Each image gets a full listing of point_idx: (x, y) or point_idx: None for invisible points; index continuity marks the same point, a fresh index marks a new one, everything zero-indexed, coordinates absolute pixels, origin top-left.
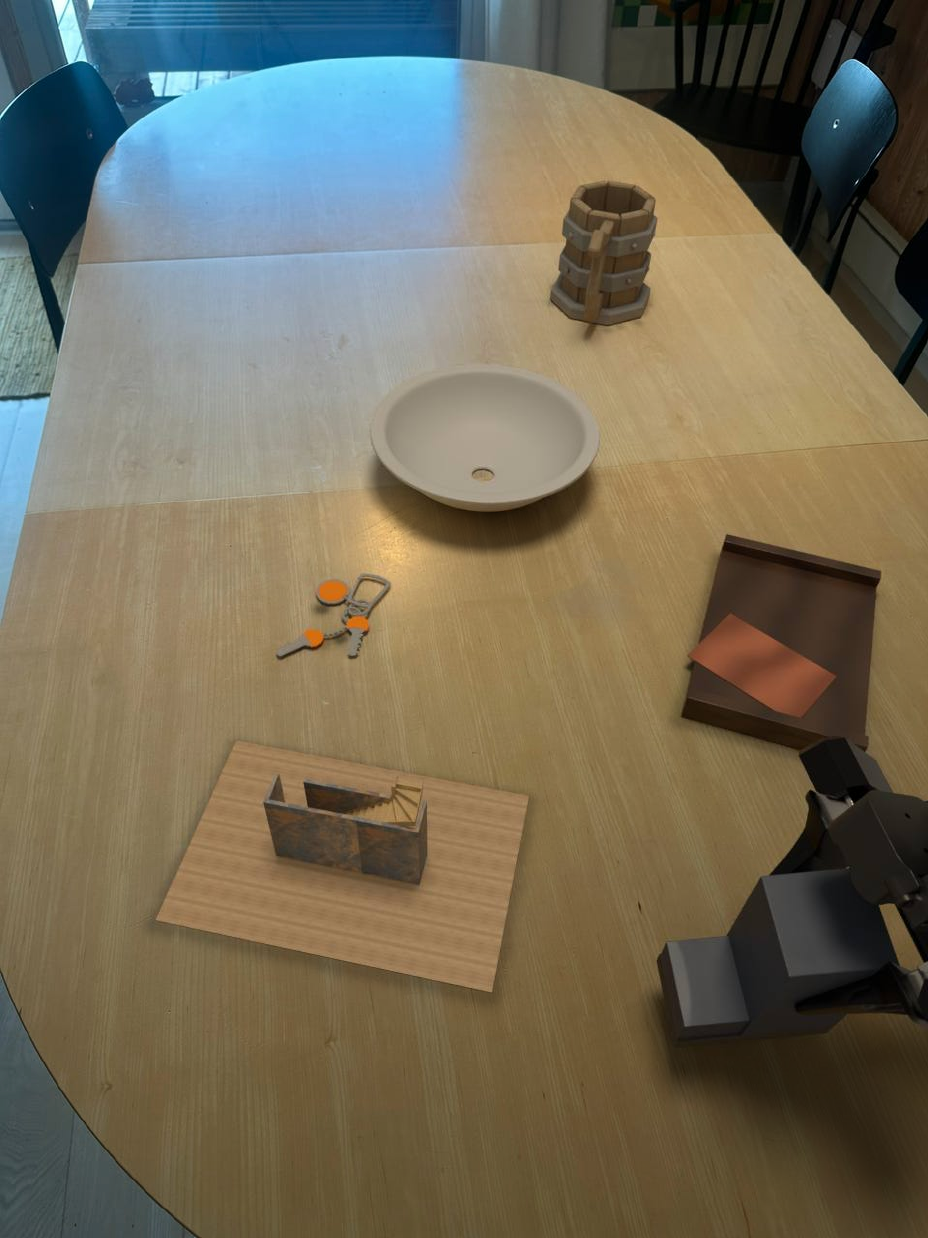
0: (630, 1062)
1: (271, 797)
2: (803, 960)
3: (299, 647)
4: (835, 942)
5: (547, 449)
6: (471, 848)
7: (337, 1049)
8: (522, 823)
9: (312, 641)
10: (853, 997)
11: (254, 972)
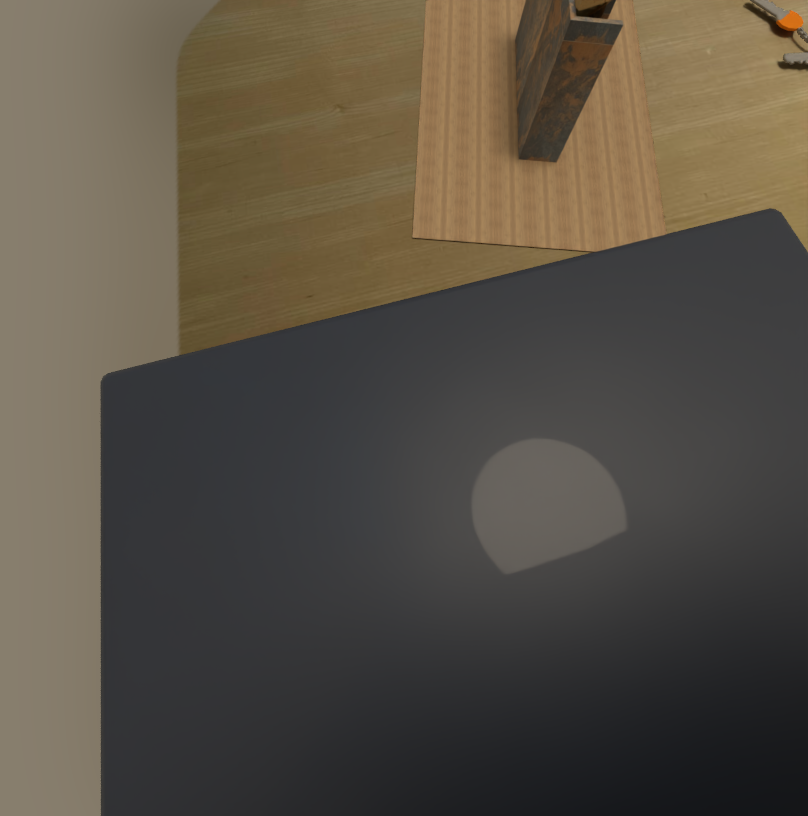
0: None
1: None
2: (206, 472)
3: (770, 11)
4: (366, 781)
5: None
6: (578, 203)
7: (332, 114)
8: None
9: (785, 19)
10: None
11: (394, 43)
